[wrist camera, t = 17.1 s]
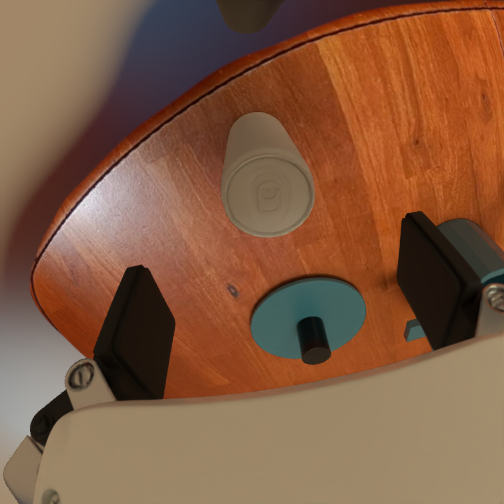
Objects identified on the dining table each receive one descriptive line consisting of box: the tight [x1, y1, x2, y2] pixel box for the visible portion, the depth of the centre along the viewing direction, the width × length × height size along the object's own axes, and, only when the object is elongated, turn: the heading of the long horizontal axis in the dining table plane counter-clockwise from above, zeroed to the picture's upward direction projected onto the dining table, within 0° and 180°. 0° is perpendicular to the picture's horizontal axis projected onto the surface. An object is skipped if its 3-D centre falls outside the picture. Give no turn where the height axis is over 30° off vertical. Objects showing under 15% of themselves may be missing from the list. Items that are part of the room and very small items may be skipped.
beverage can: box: [221, 112, 315, 237], centre depth 20 cm, size 5×5×12 cm
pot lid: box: [251, 277, 366, 365], centre depth 35 cm, size 15×15×6 cm
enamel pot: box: [404, 219, 504, 351], centre depth 30 cm, size 14×19×10 cm
